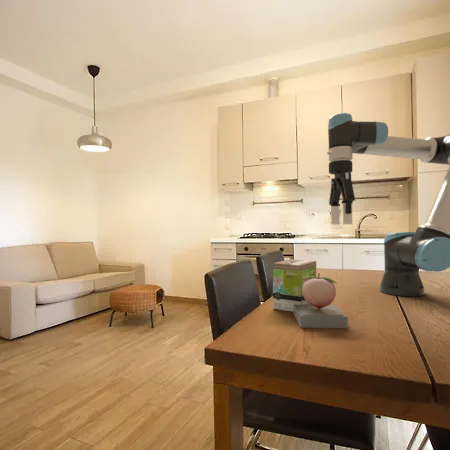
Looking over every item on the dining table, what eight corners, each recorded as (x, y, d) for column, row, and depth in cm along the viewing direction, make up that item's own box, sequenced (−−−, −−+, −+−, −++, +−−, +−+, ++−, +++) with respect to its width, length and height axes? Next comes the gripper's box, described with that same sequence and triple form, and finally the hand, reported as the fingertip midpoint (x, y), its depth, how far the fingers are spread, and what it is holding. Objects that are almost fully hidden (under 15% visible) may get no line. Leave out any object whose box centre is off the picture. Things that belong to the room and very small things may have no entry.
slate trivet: (334, 314, 94) (334, 304, 94) (347, 328, 82) (347, 315, 82) (293, 314, 94) (293, 303, 94) (300, 327, 82) (300, 315, 82)
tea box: (302, 313, 95) (302, 264, 95) (271, 309, 100) (271, 262, 100) (317, 303, 108) (316, 259, 108) (288, 299, 113) (288, 258, 113)
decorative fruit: (301, 312, 85) (300, 275, 85) (302, 304, 93) (302, 270, 93) (338, 314, 83) (337, 276, 83) (336, 306, 90) (335, 271, 90)
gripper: (320, 168, 120) (321, 224, 120) (340, 153, 95) (340, 224, 95) (340, 167, 119) (341, 224, 119) (365, 152, 94) (366, 224, 94)
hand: (341, 224), depth 107 cm, fingers open, 13 cm apart
